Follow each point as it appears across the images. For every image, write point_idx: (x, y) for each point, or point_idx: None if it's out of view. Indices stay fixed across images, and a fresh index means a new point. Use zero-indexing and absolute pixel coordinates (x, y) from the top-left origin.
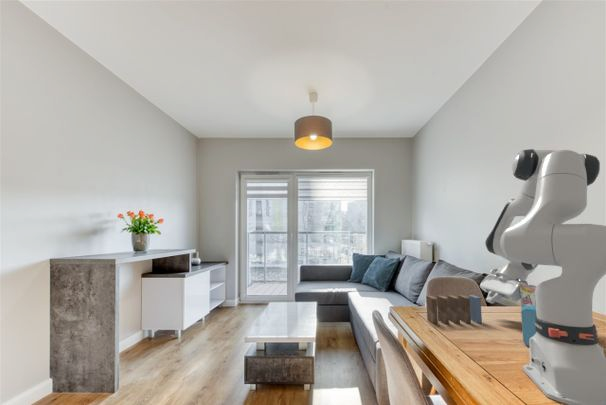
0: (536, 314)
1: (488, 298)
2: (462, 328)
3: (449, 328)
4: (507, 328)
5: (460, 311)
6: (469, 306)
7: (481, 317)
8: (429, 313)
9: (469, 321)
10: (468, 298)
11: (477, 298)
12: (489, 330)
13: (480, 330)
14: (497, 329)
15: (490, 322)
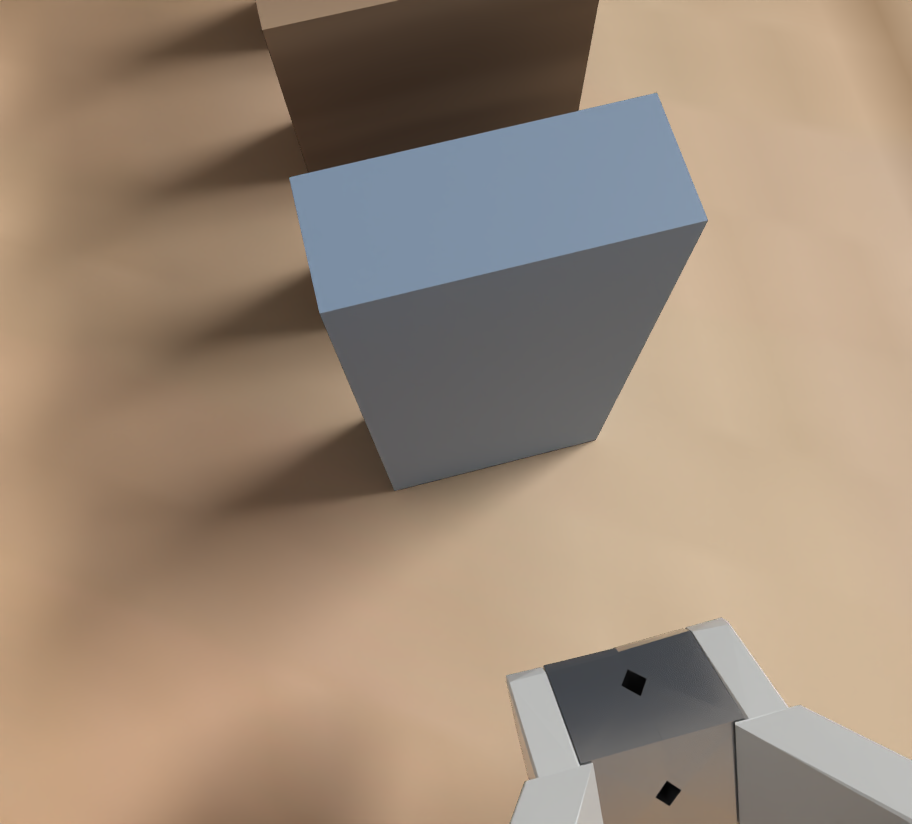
0: None
1: (658, 680)
2: (104, 155)
3: (94, 15)
4: (150, 818)
5: None
6: (305, 160)
7: (383, 464)
8: None
9: None
10: (262, 16)
11: (302, 236)
12: (32, 476)
13: (28, 352)
14: (86, 618)
15: (468, 651)
